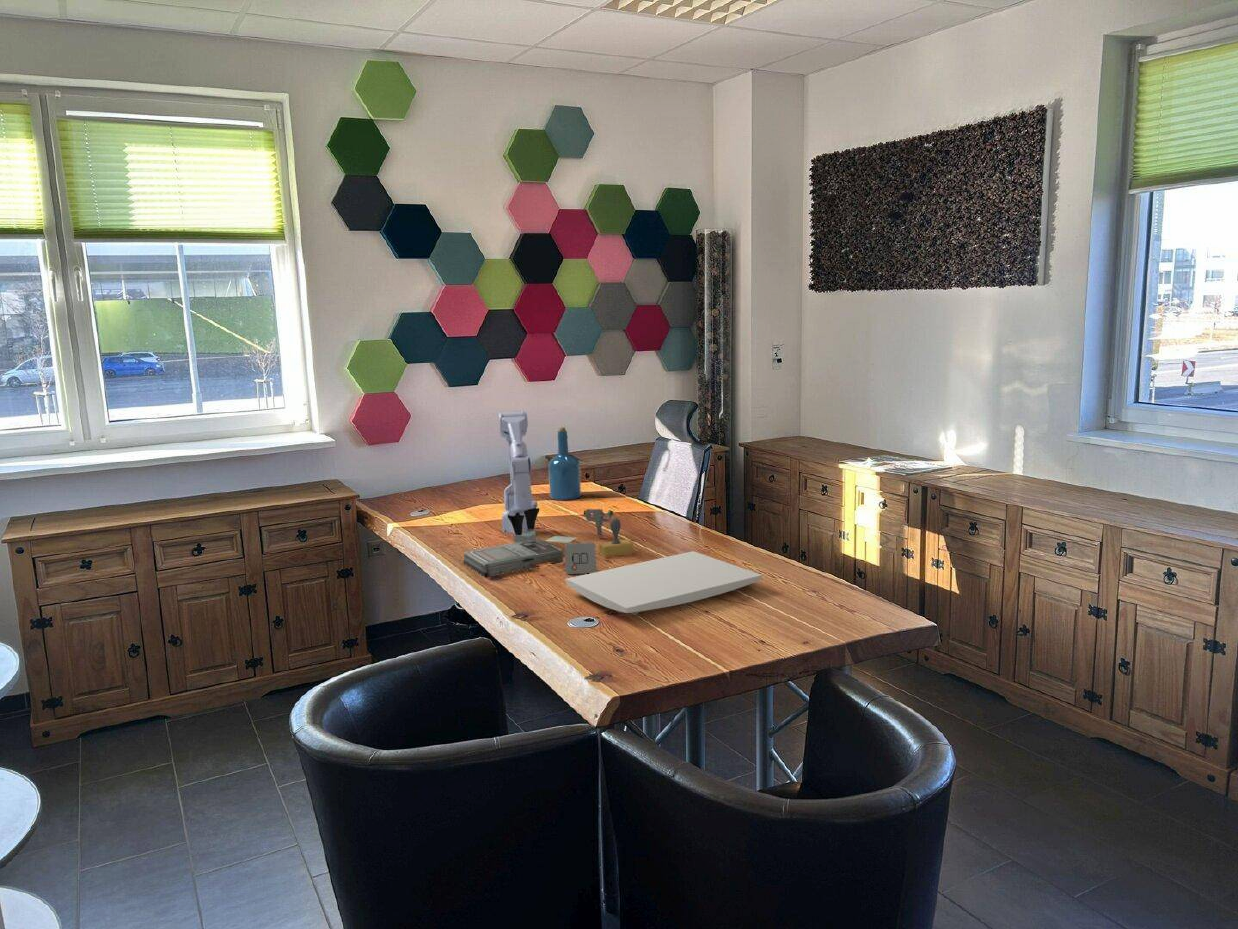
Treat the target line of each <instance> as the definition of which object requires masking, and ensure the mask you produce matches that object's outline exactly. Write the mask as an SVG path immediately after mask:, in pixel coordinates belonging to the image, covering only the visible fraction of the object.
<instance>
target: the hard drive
mask: <svg viewBox="0 0 1238 929" xmlns="http://www.w3.org/2000/svg"><path fill="white" fill-rule="evenodd" d="M463 555H464V556H463V561H462V562H463V565H465V564H466V565H467V566H466V565H465V566H466V567H468V568H469V567H470V568H469V569H471V570H472V569H473V570H472V571H474V570H475V571H474V572H476V571H477V572H478V573H477V572H476V573H477V574H479V575H480V574H481V576H482V577H483V576H484V577H483V578H489V577H488V576H490V577H493V576H492V575H495V576H498V575H497V574H500V575H503V574H502V573H505V574H508V573H507V572H511V573H513V572H512V571H516V572H518V571H517V570H521V571H526V570H530V568H532V569H534V567H537V568H540V567H539V566H540V565H537V563H543V562H548V561H552V562H551V563H549V564H553V565H557V563H558V564H562V563H564V557H563V556H564V555H563V549H562V548H560V547H558V546H556V545H553V544H552V543H551V542H549V541H545V540H543V539H541V538H536V539H533V540H527V541H522V542H516V543H515V542H512V543H510V542H509V543H505V544H501V545H493V546H488V547H483V548H477V549H472V550H467V551H464V552H463ZM553 560H554V561H553ZM561 562H562V563H561Z"/></svg>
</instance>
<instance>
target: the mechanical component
mask: <svg viewBox="0 0 1238 929" xmlns="http://www.w3.org/2000/svg"><path fill="white" fill-rule="evenodd" d="M603 511H604V510H603V509H602V508H601V509H600V508H597V509H596V508H594V509H593V508H590V509H589V508H588V509H587V508H586V510H583V515H584V516H585V520H586V521H587V522H595V524H594V525H595V527H596V534H597V535H598V536H599V535H600V536H602V535H603V534H602V533H603V532H602V526H603V523H606V522H610V521H611V520H612V517H613V516H614V510H611V509H609V510H608V511H607V513H605V512H603ZM592 515H593V516H592ZM604 517H605V518H604ZM606 517H608V518H606Z"/></svg>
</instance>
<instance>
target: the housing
mask: <svg viewBox="0 0 1238 929" xmlns="http://www.w3.org/2000/svg"><path fill="white" fill-rule="evenodd" d="M513 537H514V543H516V542H522V541H527V540H533V539H537V534H536V528H534V529H525V528H522V535H515V532H514V534H513Z"/></svg>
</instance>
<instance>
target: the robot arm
mask: <svg viewBox="0 0 1238 929" xmlns="http://www.w3.org/2000/svg"><path fill="white" fill-rule="evenodd" d="M528 422H529V420H528V414H527V412H526V411H520V412H519V411H518V412H517V411H515V412H499V414H498V425H499V426H498V427H499V434H500V437H502V438H504V439H505V441H506V442H507V449H508V461H509V462H508V463H509V465H508V466H509V474H510V476H509V478H510V484H508V486H507V487H505V489H504V490H503V501H504V502H503V503H504V510H505V511H503V513H502V518H501V521H502V523H501V526H502V533H506V534H507V533H509V534H513V535H514V532H515V535H522V528H525V529H535V525H536V521H537V517H538V515H539V513H540V508H539V507H538V501H537V500H534V499H533V494H532V487H531V486H532V482H531V473H532V460H531V458H530V455H529V453H528V448H527V444H526V443H525V442H524V441H523V437H524V436H526V435H527V431H528V426H529V425H528V424H529V423H528Z"/></svg>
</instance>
